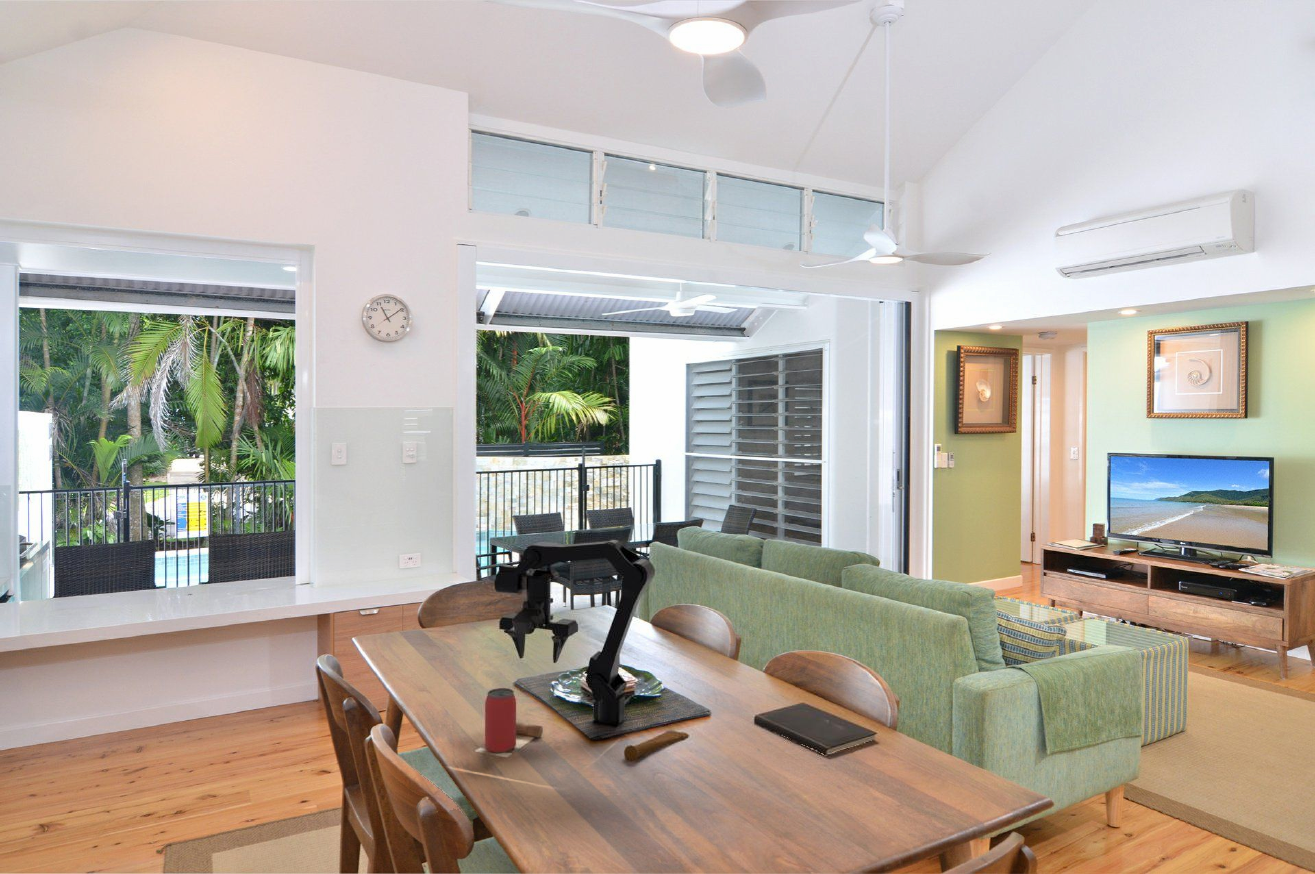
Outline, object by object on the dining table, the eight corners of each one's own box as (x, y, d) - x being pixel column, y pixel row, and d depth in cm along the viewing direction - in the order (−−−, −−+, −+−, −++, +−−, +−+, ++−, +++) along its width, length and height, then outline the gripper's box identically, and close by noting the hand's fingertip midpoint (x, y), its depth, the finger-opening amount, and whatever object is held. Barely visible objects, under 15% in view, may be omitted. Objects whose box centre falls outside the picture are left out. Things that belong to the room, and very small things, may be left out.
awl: (542, 735, 183) (542, 724, 183) (537, 739, 180) (537, 728, 180) (496, 727, 187) (496, 716, 187) (490, 731, 185) (490, 720, 185)
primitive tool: (670, 732, 187) (670, 716, 187) (691, 737, 184) (691, 722, 184) (621, 761, 171) (621, 745, 171) (643, 768, 168) (643, 751, 168)
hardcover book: (803, 711, 201) (803, 702, 201) (876, 742, 182) (876, 732, 182) (753, 724, 192) (753, 715, 192) (825, 759, 173) (826, 748, 173)
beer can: (493, 756, 171) (493, 699, 171) (479, 746, 176) (479, 691, 176) (521, 749, 175) (521, 693, 175) (507, 739, 180) (507, 685, 180)
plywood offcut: (542, 733, 185) (542, 731, 185) (507, 759, 171) (507, 757, 171) (512, 728, 188) (512, 726, 188) (474, 753, 174) (474, 751, 174)
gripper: (486, 598, 192) (486, 665, 192) (556, 606, 185) (556, 675, 185) (511, 589, 202) (511, 652, 202) (579, 596, 195) (578, 661, 196)
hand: (538, 660), depth 196 cm, fingers open, 9 cm apart
